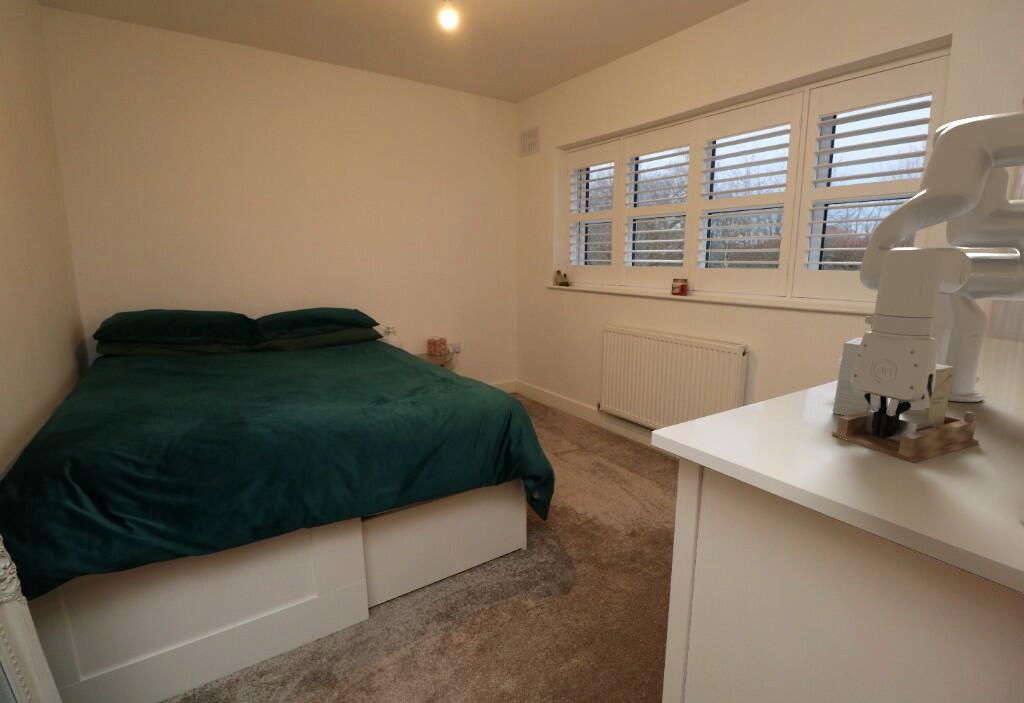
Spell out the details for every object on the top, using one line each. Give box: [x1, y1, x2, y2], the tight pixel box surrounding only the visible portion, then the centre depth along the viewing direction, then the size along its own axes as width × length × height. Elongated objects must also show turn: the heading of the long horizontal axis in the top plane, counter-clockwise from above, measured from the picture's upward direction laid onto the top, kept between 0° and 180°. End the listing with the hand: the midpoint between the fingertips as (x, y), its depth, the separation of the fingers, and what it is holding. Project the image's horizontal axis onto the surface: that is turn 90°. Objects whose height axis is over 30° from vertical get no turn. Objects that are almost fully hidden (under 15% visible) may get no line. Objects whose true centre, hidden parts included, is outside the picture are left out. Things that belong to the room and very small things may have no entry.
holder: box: [831, 411, 980, 464], centre depth 83 cm, size 19×13×5 cm, turn 115°
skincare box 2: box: [906, 364, 954, 427], centre depth 84 cm, size 6×4×12 cm
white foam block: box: [865, 410, 934, 442], centre depth 82 cm, size 5×7×4 cm
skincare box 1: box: [832, 337, 871, 416], centre depth 96 cm, size 8×6×15 cm
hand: (882, 435), depth 81 cm, fingers closed
